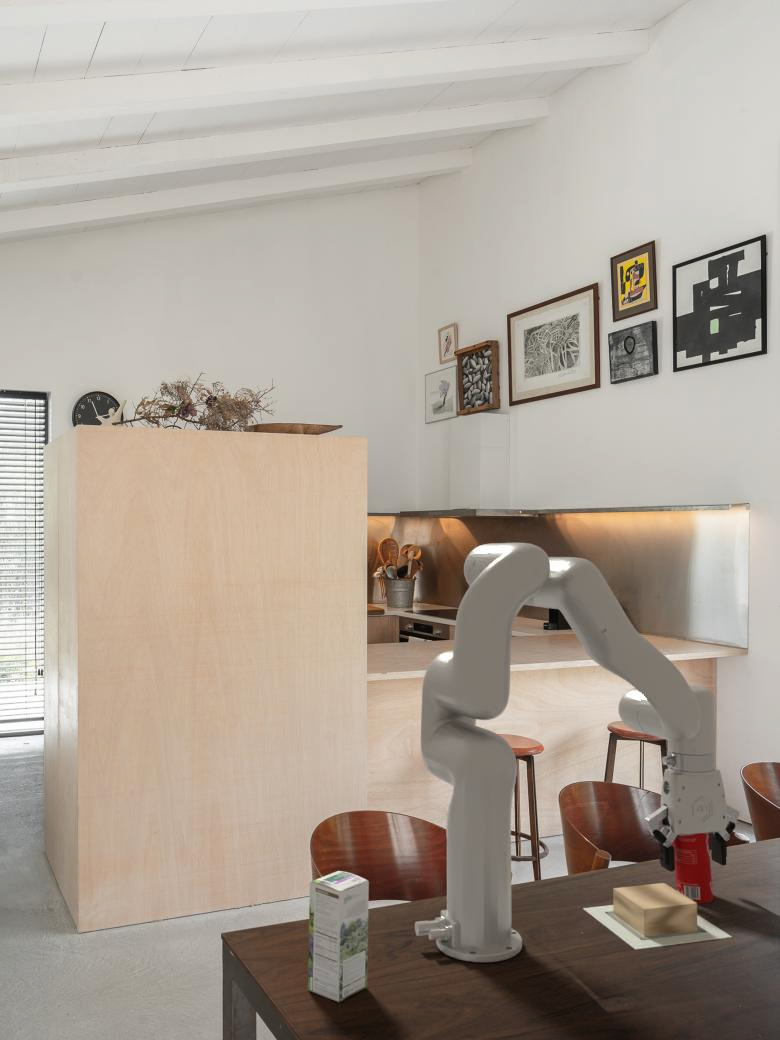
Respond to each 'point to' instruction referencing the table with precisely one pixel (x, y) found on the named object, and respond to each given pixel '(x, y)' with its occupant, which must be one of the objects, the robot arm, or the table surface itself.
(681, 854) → the beverage can
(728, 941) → the table surface
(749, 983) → the table surface
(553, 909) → the table surface
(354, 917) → the syrup box
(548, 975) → the table surface
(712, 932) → the board
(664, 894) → the oak block
